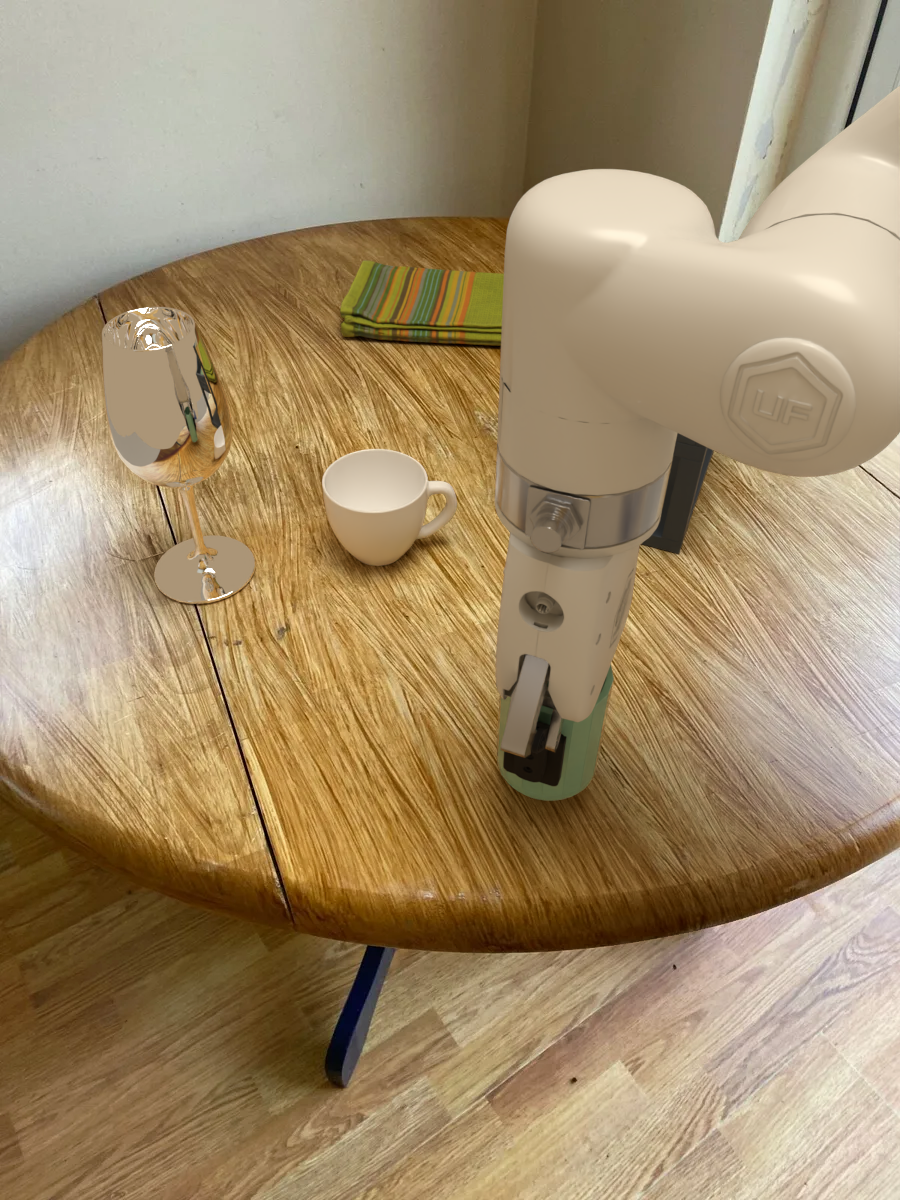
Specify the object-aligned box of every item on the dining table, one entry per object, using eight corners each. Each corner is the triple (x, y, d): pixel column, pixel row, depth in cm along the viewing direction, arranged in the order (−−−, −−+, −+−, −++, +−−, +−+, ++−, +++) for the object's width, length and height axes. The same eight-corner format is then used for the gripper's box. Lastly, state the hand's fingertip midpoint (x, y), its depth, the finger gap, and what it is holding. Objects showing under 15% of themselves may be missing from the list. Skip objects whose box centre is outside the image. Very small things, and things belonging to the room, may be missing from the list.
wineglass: (226, 617, 65) (170, 370, 51) (132, 591, 67) (54, 346, 53) (275, 549, 71) (237, 309, 57) (187, 527, 72) (129, 289, 58)
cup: (326, 521, 73) (319, 452, 69) (448, 511, 74) (449, 442, 70) (331, 586, 68) (324, 516, 63) (463, 574, 69) (466, 504, 64)
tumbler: (607, 736, 56) (624, 648, 50) (580, 814, 52) (596, 728, 46) (515, 708, 57) (522, 619, 52) (482, 781, 53) (485, 694, 48)
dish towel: (360, 275, 105) (358, 247, 103) (670, 291, 103) (676, 263, 101) (338, 340, 94) (335, 311, 92) (684, 360, 92) (691, 330, 90)
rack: (719, 434, 83) (749, 320, 75) (678, 554, 71) (709, 434, 63) (572, 401, 87) (586, 289, 79) (510, 510, 75) (520, 391, 67)
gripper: (613, 631, 33) (569, 878, 46) (702, 398, 45) (647, 646, 57) (426, 580, 35) (433, 829, 48) (556, 369, 47) (534, 615, 59)
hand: (550, 727), depth 53 cm, fingers closed on tumbler, 6 cm apart
